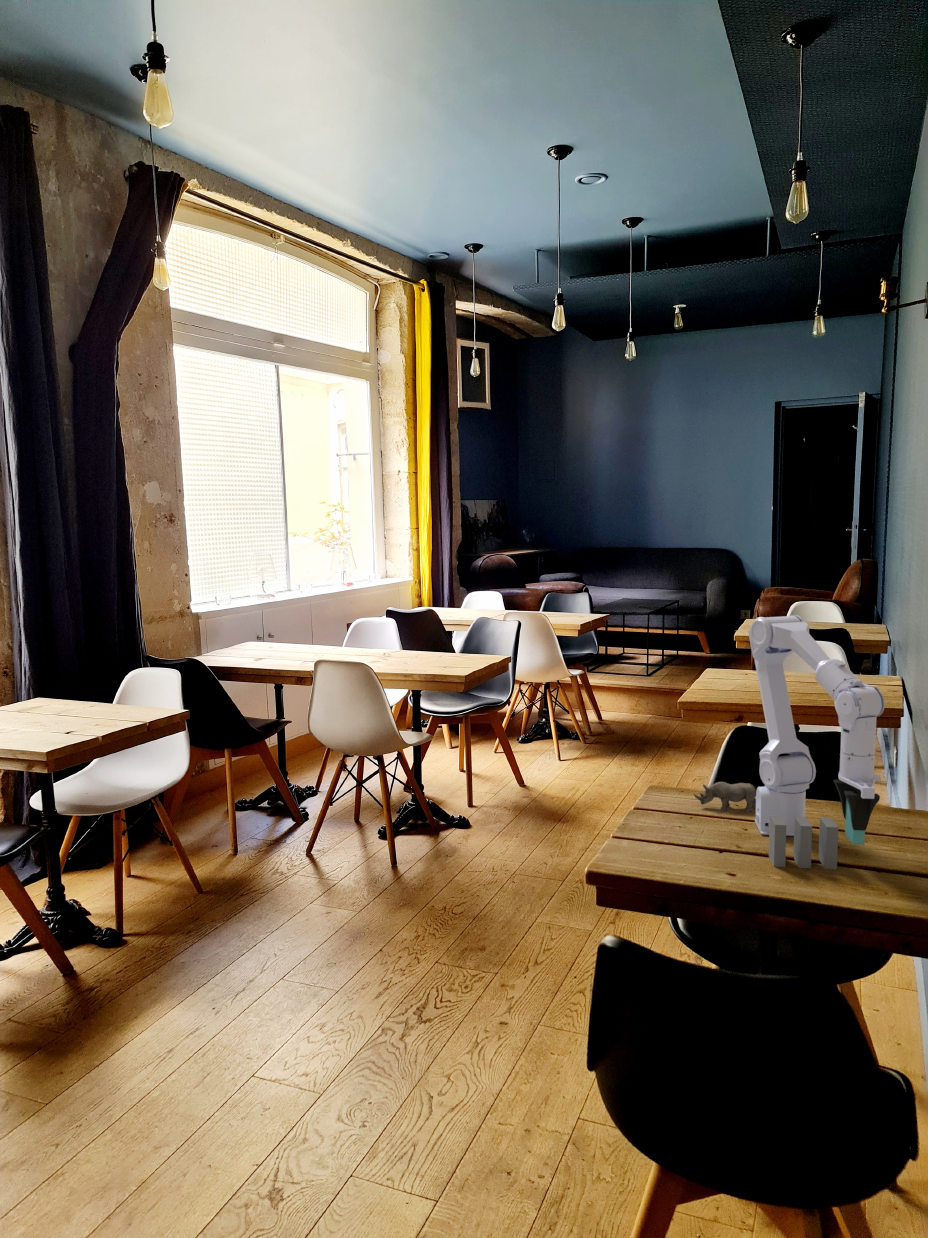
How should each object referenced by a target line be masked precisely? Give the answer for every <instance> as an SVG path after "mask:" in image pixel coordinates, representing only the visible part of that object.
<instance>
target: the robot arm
mask: <svg viewBox="0 0 928 1238" xmlns="http://www.w3.org/2000/svg"><path fill="white" fill-rule="evenodd" d="M747 633H748V637H749V643H750V649H751V653H752V654H751V655H752V658H753V659H754V665H755V670H756V676H757V680H758V681H757V682H758V688H759V691H760V697H761V702H762V703H761V704H762V709H763V715H764V719H765V721H764V722H765V725H766V730H767V737H768V742H767V744H766V745H765V746H764V747H763V748H762V749H761V750H760V752H759V759H760V760H759V776H760V780H761V781H762V784H764V785H763V786H758V787H757V788H756V796H755V799H756V809H755V817H754V818H755V819H754V822H755V825H756V827H757V828H758V830H759V833H760V835H763V836H764V835H765V836H769V826H770V816H781V817H782V819H783V820H784V822H785V824H786V837H787V836H789V837H794V822H795V816H796V817H806V793H807V792H806V791H807V790H808V789H810V784H811V783H813V782H814V781H815V778H816V773H817V770H816V765H815V762H814V761H813V758H812V755H811V754H810V753H811V752H810V750H809V749H810V748H809V746H807V745H806V744H804V743H803V742H802V741H800V739H798V738H797V734H796V728H795V724H794V719H793V718H794V717H793V713H792V707H791V701H790V696H789V691H788V686H787V681H786V676H785V675H786V674H785V670H784V662H785V660H786V659H787V658H788V657H790V656H791V655H793V654H794V653H795V654H796V655H797V656H798V657H800V659H801V660H803V661H804V662H805V663H806V664H807V665H808V666H810V668H811V669H813V670H814V671H815V672H814V679H815V681H816V682H817V684H818V685H820V686H821V688H822V689H824V691H826V693H827V694H828V695H829V696H830V697H831V698H832V699H833V700H834V701H833V702H834V709H835V711H836V714H837V718H838V724H839V727H840V750H839V751H840V753H839V756H840V757H839V771H838V778H837V779H836V778H835V779H833V783H834V785H835V787H836V789H837V792H838V795H839V799H840V805H841V809H842V814H843V819H846V798H847V801H848V804H849V808H850V814H851V823H852V827H853V830H862V831H865V832H866V830H867V829H868V824H869V821H870V819H871V816H872V813H873V811H874V809H875V807H876V805H877V804H878V802H879V801H880V798H881V796H880V795H879V794H878V793H875V791H876V788H875V783H876V782H881V781H882V777H881V776H880V774H879V775H878V774H875V759H876V738H877V737H876V735H877V718H878V717H880V716H881V715H882V714H883V712H884V711H885V705H886V702H885V698H884V695H883V693H882V692H881V690H880V689H879V688H878V686H877V685H872V684H867V683H865V682H862V680H861V679H860V678H859V677H857V676H856V675H855V674H854V672H852V671H851V670H850V669H849V668H848V666H847V664H846V663H845V662H844V661H843V660H840V659H838V658H837V659H836V658H832V659H831V658H830V657H829V656H828V655H827V653H826V652H825V651H824V650H823V649H822V647H821V646H820V644H818V642H817V641H816V640H815V639H814V637H812V635H811V634H810V627H809V623H807V622H806V621H805V620H804V619H803V618H802V617H801V616H800V615H798V614H792V615H787V616H785V615H784V616H769V617H768V616H767V617H763V616H759V617H756V618H755V619H754V620H753V621H752V623H751V625H750V627H749V629H748V631H747ZM781 754H782V755H781ZM783 754H788V755H783ZM779 755H781V756H779Z"/></svg>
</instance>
